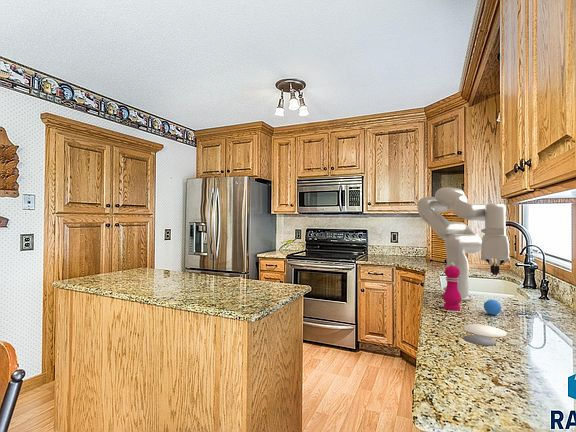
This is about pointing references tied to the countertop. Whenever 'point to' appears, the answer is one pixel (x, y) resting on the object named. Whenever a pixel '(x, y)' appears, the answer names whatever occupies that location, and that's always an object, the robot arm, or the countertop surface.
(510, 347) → the countertop surface
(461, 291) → the robot arm
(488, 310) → the blue ball
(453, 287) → the pepper mill
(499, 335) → the white disc
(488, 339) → the charcoal disc
